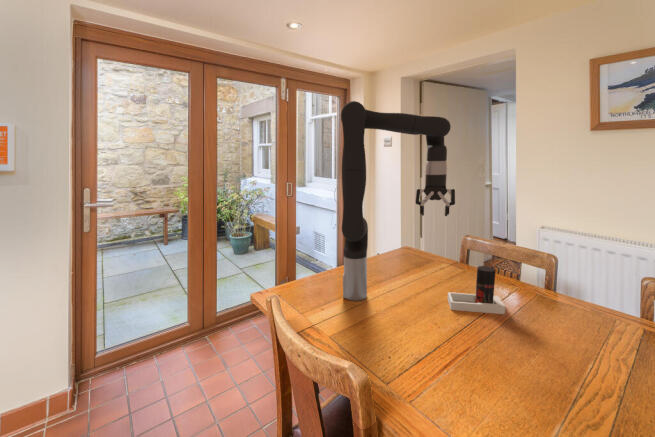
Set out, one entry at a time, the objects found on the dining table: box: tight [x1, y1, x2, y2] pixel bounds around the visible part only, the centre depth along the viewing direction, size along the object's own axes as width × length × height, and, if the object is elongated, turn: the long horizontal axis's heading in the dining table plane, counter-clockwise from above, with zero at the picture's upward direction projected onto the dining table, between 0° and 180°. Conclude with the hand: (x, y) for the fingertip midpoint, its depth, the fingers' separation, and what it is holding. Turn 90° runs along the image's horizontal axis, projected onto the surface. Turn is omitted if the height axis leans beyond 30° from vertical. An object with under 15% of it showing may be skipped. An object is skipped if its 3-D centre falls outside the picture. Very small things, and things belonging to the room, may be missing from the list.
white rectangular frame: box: [447, 291, 506, 315], centre depth 118 cm, size 18×9×3 cm, turn 77°
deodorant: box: [475, 265, 497, 304], centre depth 116 cm, size 6×6×15 cm
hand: (434, 215), depth 123 cm, fingers open, 8 cm apart
